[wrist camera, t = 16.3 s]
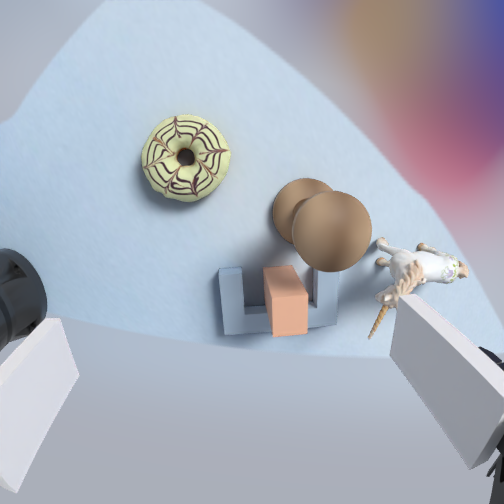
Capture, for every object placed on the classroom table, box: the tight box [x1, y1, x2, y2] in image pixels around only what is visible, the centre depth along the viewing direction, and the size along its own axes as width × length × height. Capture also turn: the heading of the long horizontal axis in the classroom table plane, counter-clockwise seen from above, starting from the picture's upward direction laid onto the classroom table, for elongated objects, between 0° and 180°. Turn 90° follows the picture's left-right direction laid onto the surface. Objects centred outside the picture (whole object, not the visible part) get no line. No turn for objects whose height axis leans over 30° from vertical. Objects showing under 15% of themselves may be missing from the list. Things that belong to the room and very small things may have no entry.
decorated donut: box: [141, 114, 231, 202], centre depth 38 cm, size 10×11×4 cm
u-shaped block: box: [219, 267, 339, 335], centre depth 44 cm, size 16×9×2 cm, turn 93°
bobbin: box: [272, 178, 372, 272], centre depth 36 cm, size 9×9×12 cm
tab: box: [263, 265, 308, 337], centre depth 40 cm, size 4×5×10 cm
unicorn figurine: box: [368, 237, 469, 339], centre depth 39 cm, size 7×20×13 cm, turn 102°
